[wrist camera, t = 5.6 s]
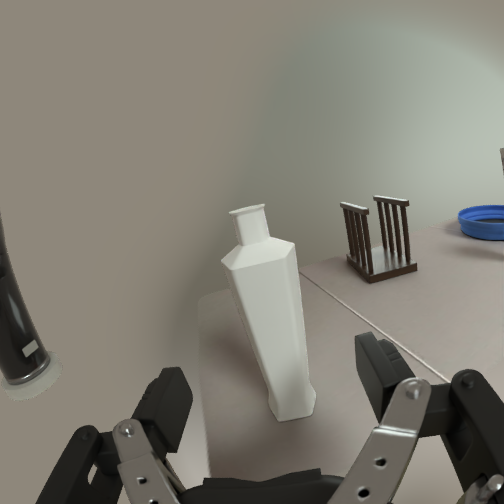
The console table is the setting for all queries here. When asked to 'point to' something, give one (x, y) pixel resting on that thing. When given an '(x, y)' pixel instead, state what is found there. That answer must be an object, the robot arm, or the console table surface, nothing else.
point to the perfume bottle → (271, 311)
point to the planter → (502, 157)
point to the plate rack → (384, 257)
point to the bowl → (483, 221)
